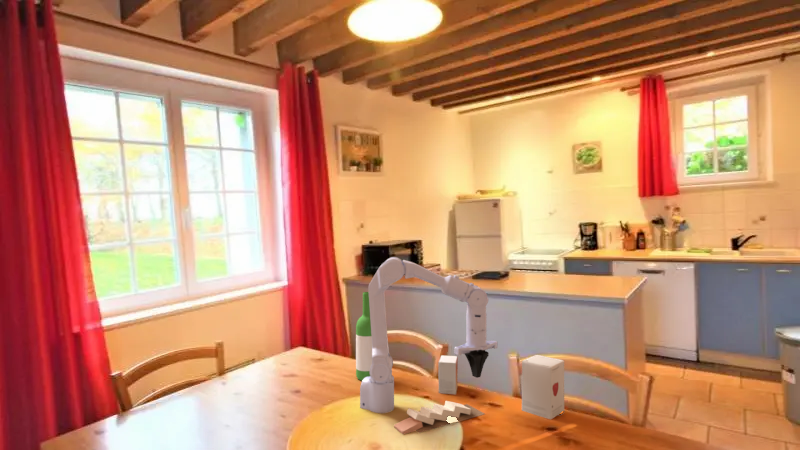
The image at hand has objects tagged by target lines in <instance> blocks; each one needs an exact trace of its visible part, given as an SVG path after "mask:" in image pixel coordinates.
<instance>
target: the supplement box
mask: <svg viewBox="0 0 800 450" xmlns="http://www.w3.org/2000/svg"><path fill="white" fill-rule="evenodd" d="M521 411H522V412H525V413H529V414H531V415H534V416H538V417H541V418H544V419H548V420H552V419H554V418H555V417H557V416H560V415H559V414H560V413H561V412H562V411H564V412H565V360H563V359H559V358H555V357H549V356H545V355H540V354H535V355H533V356H532V355H531V356H530V357H528V358H526V359H523V360H521Z"/></svg>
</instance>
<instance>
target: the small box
mask: <svg viewBox="0 0 800 450" xmlns="http://www.w3.org/2000/svg"><path fill="white" fill-rule="evenodd" d="M458 357H459V356H458V355H457V356H456V355H440V357H439V360H438V373H437V374H438V376H437V377H438V394H444V395H445V394H446V395H448V394H449V395H457V391H458V388H459V387H458V385H459V384H458V383H459V381H458V378H459V375H458V373H459V371H458V368H459V367H458V365H459V364H458V362H459V361H458V359H459V358H458Z"/></svg>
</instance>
